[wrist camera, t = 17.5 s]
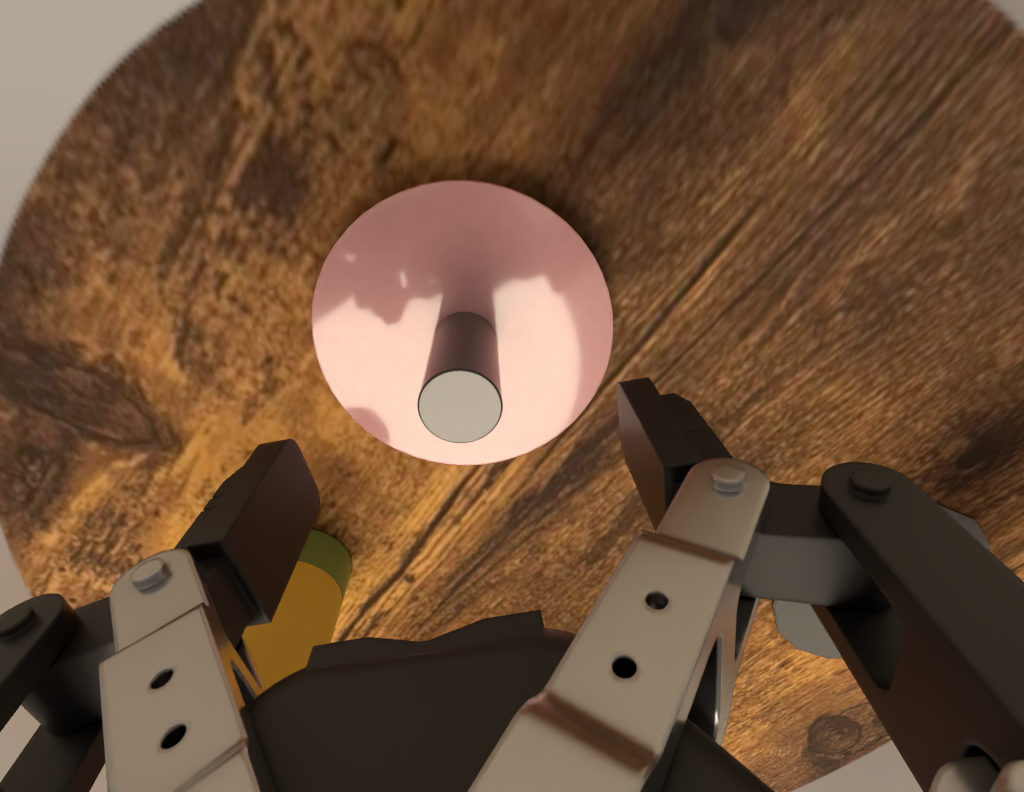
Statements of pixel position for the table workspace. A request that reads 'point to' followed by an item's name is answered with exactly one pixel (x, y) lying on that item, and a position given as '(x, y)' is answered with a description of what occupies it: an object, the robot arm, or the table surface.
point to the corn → (302, 610)
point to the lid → (462, 322)
